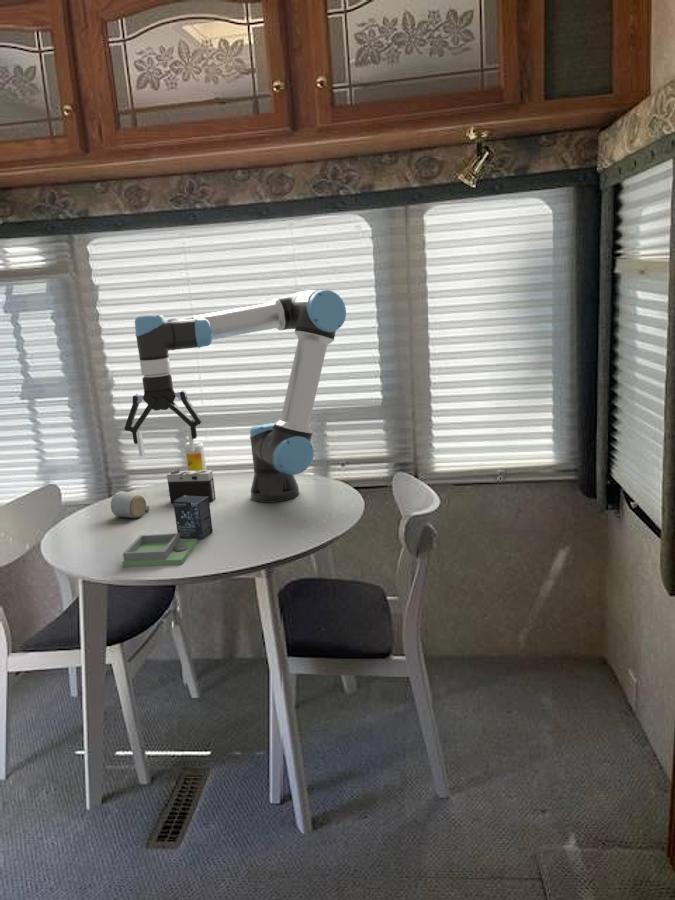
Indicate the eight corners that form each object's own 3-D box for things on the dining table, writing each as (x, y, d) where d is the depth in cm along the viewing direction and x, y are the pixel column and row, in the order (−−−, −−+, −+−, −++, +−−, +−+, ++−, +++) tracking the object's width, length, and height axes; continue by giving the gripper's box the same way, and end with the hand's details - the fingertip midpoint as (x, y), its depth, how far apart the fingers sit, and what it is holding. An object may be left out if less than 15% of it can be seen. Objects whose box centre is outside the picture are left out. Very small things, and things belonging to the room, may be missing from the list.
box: (177, 538, 188) (172, 501, 185) (189, 530, 193) (184, 494, 190) (202, 540, 185) (197, 502, 182) (213, 532, 190) (209, 495, 188)
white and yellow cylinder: (193, 482, 242) (188, 440, 238) (210, 481, 241) (205, 440, 237) (187, 487, 236) (182, 444, 232) (204, 487, 235) (199, 444, 231)
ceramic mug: (132, 521, 204) (129, 497, 203) (111, 519, 208) (108, 495, 206) (156, 511, 213) (153, 487, 212) (136, 509, 217) (133, 485, 215)
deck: (197, 542, 183) (195, 531, 182) (182, 564, 169) (180, 551, 169) (141, 545, 184) (140, 534, 183) (122, 566, 171) (121, 554, 170)
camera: (220, 494, 225) (216, 465, 223) (211, 502, 217) (207, 472, 215) (179, 495, 227) (176, 466, 225) (169, 503, 220) (165, 473, 217)
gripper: (205, 369, 187) (215, 445, 192) (112, 377, 186) (124, 453, 191) (202, 372, 179) (212, 451, 184) (105, 380, 178) (117, 460, 183)
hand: (167, 453), depth 188 cm, fingers open, 13 cm apart
